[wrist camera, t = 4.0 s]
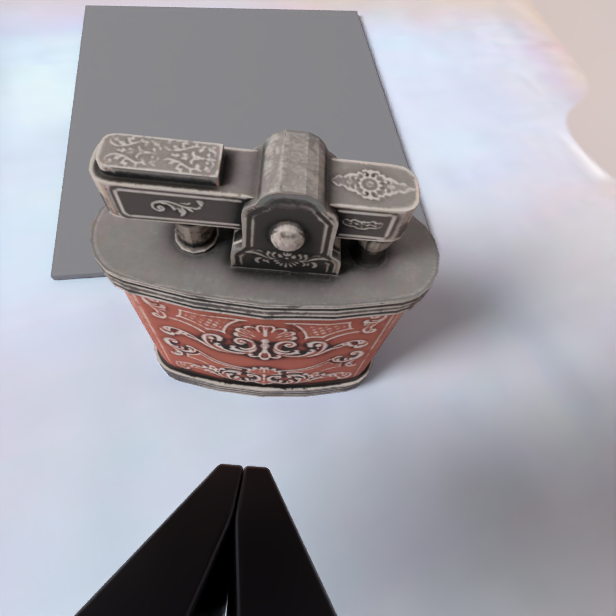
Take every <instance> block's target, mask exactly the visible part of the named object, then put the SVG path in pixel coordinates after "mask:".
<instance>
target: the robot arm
mask: <svg viewBox="0 0 616 616" xmlns="http://www.w3.org/2000/svg"><path fill="white" fill-rule="evenodd" d="M227 601H228V602H227ZM226 607H227V614H226V616H337V614H336V612H335V610H334V608H333V606H332V603H331V601H330V599H329V597H328V595H327V593H326V590H325V588H324V586H323V584H322V582H321V580H320V578H319V575H318V573H317V571H316V569H315V567H314V565H313V562H312V560H311V558H310V556H309V554H308V552H307V550H306V547H305V545H304V543H303V541H302V539H301V537H300V534H299V532H298V530H297V528H296V526H295V524H294V522H293V519H292V517H291V515H290V513H289V511H288V509H287V506H286V504H285V502H284V500H283V498H282V496H281V494H280V491H279V489H278V487H277V485H276V483H275V481H274V479H273V476H272V474H271V472H270V470H269V469H268V468H266V467H255V466H247V467H245V468H244V471H243V467H242V466H240V465H230V464H220V465H218V466H217V467H216V468H215V469H214V470H213V471H212V472H211V473H210V474H209V475H208V476H207V478H206V479H205V480H204V481H203V482H202V483H201V484H200V485H199V486H198V487H197V488H196V489H195V490H194V491H193V492H192V493H191V494H190V495H189V496H188V497H187V498H186V499H185V501H184V502H183V503H182V504H181V505H180V506H179V507H178V508H177V509H176V510H175V511H174V512H173V513H172V514H171V515H170V516H169V517H168V518H167V519H166V520H165V521H164V523H163V524H162V525H161V526H160V527H159V528H158V529H157V530H156V531H155V532H154V533H153V534H152V535H151V536H150V537H149V538H148V539H147V540H146V541H145V542H144V543H143V544H142V546H141V547H140V548H139V549H138V550H137V551H136V552H135V553H134V554H133V555H132V556H131V557H130V558H129V559H128V560H127V561H126V562H125V563H124V564H123V565H122V566H121V567H120V569H119V570H118V571H117V572H116V573H115V574H114V575H113V576H112V577H111V578H110V579H109V580H108V581H107V582H106V583H105V584H104V585H103V586H102V587H101V588H100V589H99V590H98V591H97V593H96V594H95V595H94V596H93V597H92V598H91V599H90V600H89V601H88V602H87V603H86V604H85V605H84V606H83V607H82V608H81V609H80V610H79V611H78V612H77V613H76V614H75V616H225V613H226Z"/></svg>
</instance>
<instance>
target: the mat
mask: <svg viewBox="0 0 616 616" xmlns="http://www.w3.org/2000/svg"><path fill="white" fill-rule="evenodd" d="M285 129H286V130H296V131H305V132H310V133H312V134H314V135H316V136H318V137H319V138H320V139H321V140H322V141H323V142H324V143H325V145H326V147H327V149H328V151H329V152H331V153H332V154H334V155H335V156H336V157H337V159H347V160H356V161H366V162H376V163H385V164H393V165H398V166H403V167H405V168H407V169H409V168H408V165H407V162H406V159H405V156H404V153H403V150H402V147H401V144H400V141H399V138H398V135H397V132H396V129H395V126H394V123H393V120H392V117H391V114H390V111H389V108H388V105H387V102H386V99H385V95H384V92H383V89H382V86H381V83H380V80H379V77H378V74H377V71H376V68H375V65H374V62H373V59H372V56H371V53H370V50H369V47H368V44H367V41H366V38H365V35H364V32H363V29H362V26H361V23H360V20H359V17H358V14H357V11H331V10H283V9H234V8H185V7H136V6H88V5H86V7H85V15H84V23H83V30H82V38H81V46H80V54H79V62H78V69H77V77H76V85H75V93H74V100H73V108H72V116H71V124H70V131H69V139H68V147H67V155H66V162H65V170H64V178H63V186H62V193H61V201H60V209H59V217H58V224H57V232H56V240H55V248H54V255H53V263H52V271H51V277H52V278H53V279H54V280H60V279H74V278H88V277H102V276H106V275H105V274H104V272H103V270H102V269H101V267H100V266H99V264H98V262H97V261H96V259H95V257H94V255H93V251H92V248H91V244H90V235H91V227H92V223H93V221H94V219H95V218H96V216H97V214H98V212H99V210H100V209H101V208H102V207H103V206H104V205H105V203H104V201H103V199H102V197H101V195H100V193H99V191H98V189H97V187H96V185H95V183H94V180H93V178H92V176H91V174H90V172H89V164H90V160H91V157H92V154H93V152H94V150H95V148H96V147H97V145H98V144H99V143H100V142H101V140H102V138H103V137H105V136H106V135H108V134H112V133H123V134H132V135H142V136H151V137H161V138H170V139H180V140H190V141H199V142H209V143H218V144H224V147H232V148H241V149H251V150H252V149H253V148H255V147H256V146H259V145H261V144H263V143H264V141H265V140H266V138H267V137H268V136H270V135H271V134H273V133H274V132H278V131H282V130H285ZM413 216H414V217H415V218H416V219H418V220H419V221H420V222H421V223H422V224H424V225H425V226H426V228H427V229H428V226H427V223H426V220H425V217H424V214H423V211H422V208H421V205H420V202H419V203H418V205H417V207H416V209H415V211H414V213H413ZM428 231H429V229H428Z"/></svg>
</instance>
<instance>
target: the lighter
mask: <svg viewBox="0 0 616 616" xmlns="http://www.w3.org/2000/svg"><path fill="white" fill-rule="evenodd" d="M89 172H90V174H91V176H92V178H93V180H94V183H95V185H96V187H97V189H98V191H99V193H100V195H101V197H102V199H103V201H104V203H105V205H104V206H103V207H102V208H101V209H100V210H99V212H98V214H97V216H96V218H95V219H94V221H93V223H92V227H91V235H90V244H91V248H92V251H93V255H94V257H95V259H96V261H97V262H98V264H99V266H100V267H101V269H102V270H103V272H104V274H105V275H106V276H107V277H108V279H109V280H110V281H111V282H112V283H113V284H114V286H115V287H117V288H119V289H122V290H124V291H125V293H126V295H127V297H128V298H129V300H130V302H131V304H132V305H133V307H134V309H135V310H136V312H137V314H138V316H139V317H140V319H141V321H142V323H143V324H144V326H145V328H146V330H147V331H148V333H149V335H150V336H151V338H152V340H153V342H154V343H155V345H154V350H155V353H156V356H157V359H158V361H159V363H160V365H161V366H162V368H163V369H164V370H165V371H166V373H167V374H168V375H169V376H170V377H172V378H174V379H176V380H178V381H182V382H185V383H189V384H193V385H197V386H201V387H205V388H209V389H213V390H217V391H222V392H230V393H237V394H245V395H252V396H260V397H306V396H314V395H322V394H330V393H338V392H346V391H348V390H351V389H354V388H356V387H357V386H358V385H359V384H360V383H361V382H362V381H363V380H364V379H365V377H366V376H367V374H368V372H369V370H370V368H371V366H372V364H373V357H374V355H375V354H376V352H377V351H378V349H379V348H380V346H381V345H382V343H383V342H384V340H385V339H386V337H387V336H388V334H389V333H390V331H391V330H392V329H393V327H394V326H395V324H396V323H397V321H398V320H399V318H400V317H401V315H402V314H403V312H405V311H408V310H410V309H411V308H412V307H414V306H415V305H416V304H417V303H418V302H419V301H420V300H421V299H422V298H423V297H424V295H425V294H426V292H427V291H428V290H429V288H430V287H431V285H432V283H433V281H434V279H435V277H436V275H437V273H438V268H439V253H438V250H437V246H436V243H435V240H434V238H433V237H432V235H431V234H430V232H429V231H428V229H427V228H426V226H425V225H424V224H422V223H421V222H420V221H419V220H418V219H416V218H415V217H414V216H413V213H414V211H415V209H416V207H417V205H418V203H419V195H420V193H419V185H418V181H417V178H416V176H415V175H414V174H413V172H412V171H411V170H409V169H407V168H405V167H403V166H398V165H393V164H385V163H376V162H366V161H356V160H347V159H337V157H336V156H335V155H334V154H332V153H331V152H329V151H328V149H327V147H326V145H325V143H324V142H323V141H322V140H321V139H320V138H319V137H318V136H316V135H314V134H312V133H310V132H305V131H296V130H286V129H285V130H282V131H278V132H274V133H273V134H271V135H270V136H268V137H267V138H266V140H265V141H264V143H263V144H261V145H259V146H256V147H255V148H253V149H252V150H251V149H241V148H232V147H224V144H218V143H209V142H199V141H190V140H180V139H170V138H161V137H151V136H142V135H132V134H123V133H112V134H108V135H106V136H105V137H103V138H102V140H101V142H100V143H99V144H98V145H97V147H96V148H95V150H94V152H93V154H92V157H91V160H90V164H89Z"/></svg>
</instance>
